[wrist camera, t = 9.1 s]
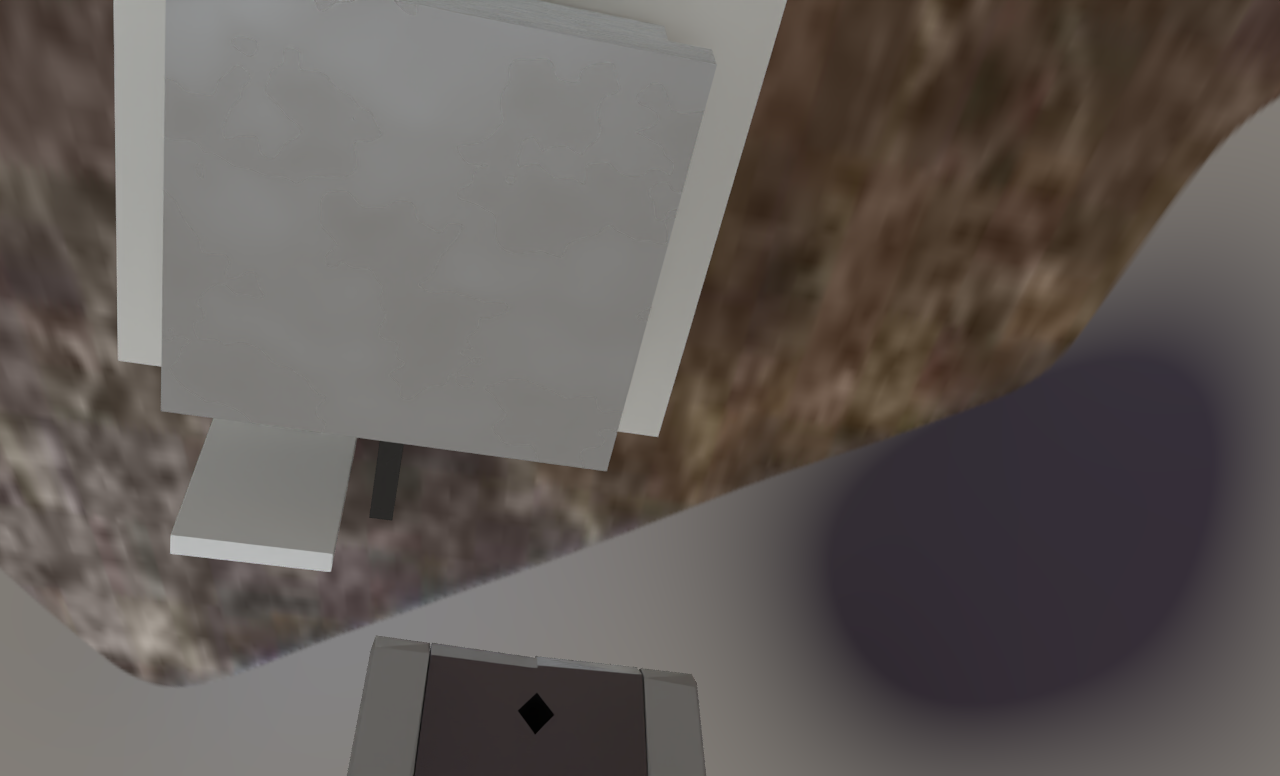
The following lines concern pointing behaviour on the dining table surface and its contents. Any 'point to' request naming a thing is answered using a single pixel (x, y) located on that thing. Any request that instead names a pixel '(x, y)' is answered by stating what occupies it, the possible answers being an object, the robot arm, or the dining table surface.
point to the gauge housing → (321, 463)
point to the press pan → (419, 218)
